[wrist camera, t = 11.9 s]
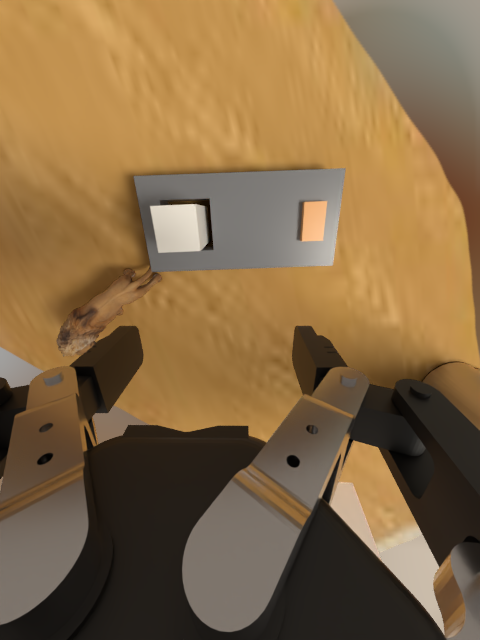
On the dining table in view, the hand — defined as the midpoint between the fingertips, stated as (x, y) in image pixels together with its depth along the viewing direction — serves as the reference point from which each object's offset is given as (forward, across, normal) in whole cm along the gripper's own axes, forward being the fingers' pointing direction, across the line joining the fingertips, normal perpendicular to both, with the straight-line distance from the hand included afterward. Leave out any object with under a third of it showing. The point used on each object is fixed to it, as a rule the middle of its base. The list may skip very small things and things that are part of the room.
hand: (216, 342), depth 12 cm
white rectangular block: (+21, +5, -5) cm, 22 cm away
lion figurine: (+21, +15, +4) cm, 27 cm away
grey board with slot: (+21, -1, -5) cm, 22 cm away
